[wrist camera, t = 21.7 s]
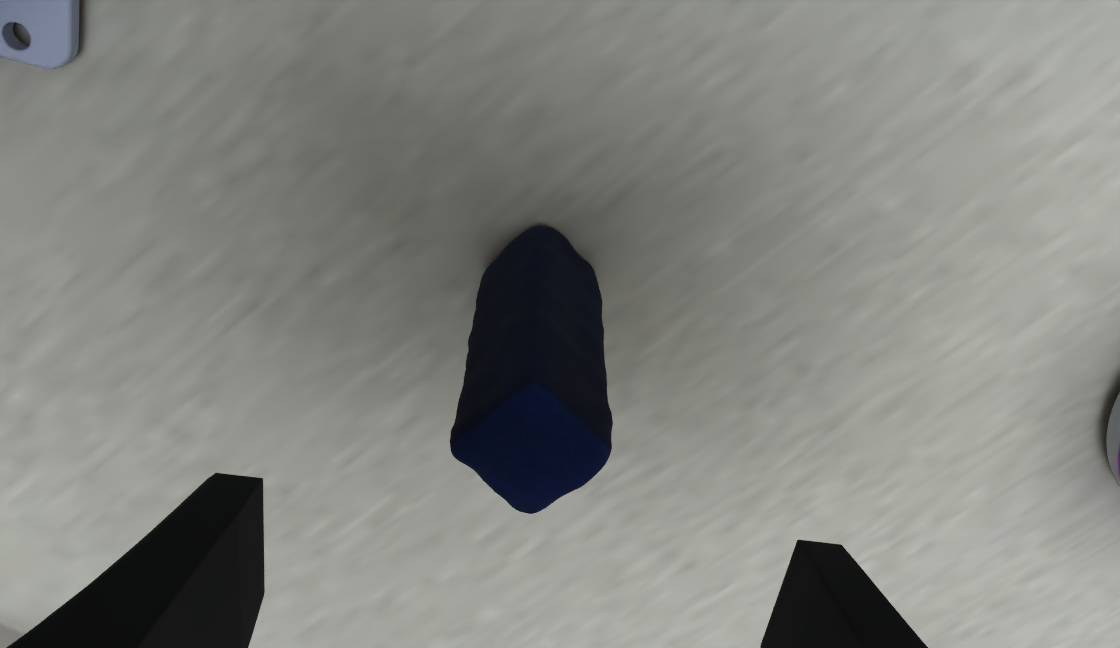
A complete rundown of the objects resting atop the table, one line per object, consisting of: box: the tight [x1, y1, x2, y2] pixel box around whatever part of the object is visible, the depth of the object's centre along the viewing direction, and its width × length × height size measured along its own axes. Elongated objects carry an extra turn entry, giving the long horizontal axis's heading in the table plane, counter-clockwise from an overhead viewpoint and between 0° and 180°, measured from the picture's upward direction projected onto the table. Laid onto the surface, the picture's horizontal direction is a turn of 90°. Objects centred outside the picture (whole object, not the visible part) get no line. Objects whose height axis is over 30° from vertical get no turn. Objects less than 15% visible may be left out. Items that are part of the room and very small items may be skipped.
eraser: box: [450, 226, 613, 514], centre depth 18 cm, size 2×2×7 cm
